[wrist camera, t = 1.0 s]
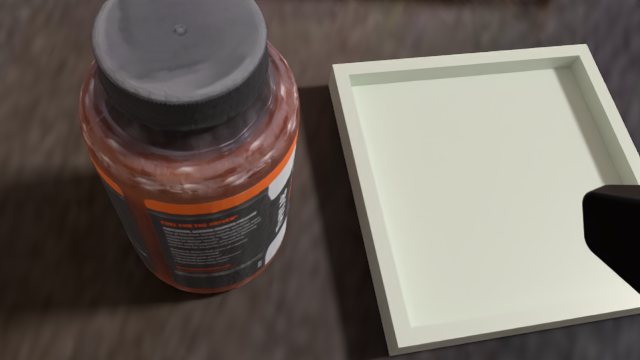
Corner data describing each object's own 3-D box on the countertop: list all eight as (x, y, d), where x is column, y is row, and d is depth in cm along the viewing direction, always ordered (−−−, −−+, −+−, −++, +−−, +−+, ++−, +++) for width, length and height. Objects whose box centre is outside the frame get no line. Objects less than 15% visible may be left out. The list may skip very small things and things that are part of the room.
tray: (679, 306, 24) (705, 295, 23) (389, 356, 22) (398, 347, 21) (570, 64, 29) (586, 44, 28) (328, 85, 27) (332, 64, 26)
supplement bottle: (316, 240, 24) (364, 60, 14) (187, 331, 22) (132, 196, 12) (230, 134, 26) (217, -94, 15) (103, 208, 23) (-7, 0, 13)
